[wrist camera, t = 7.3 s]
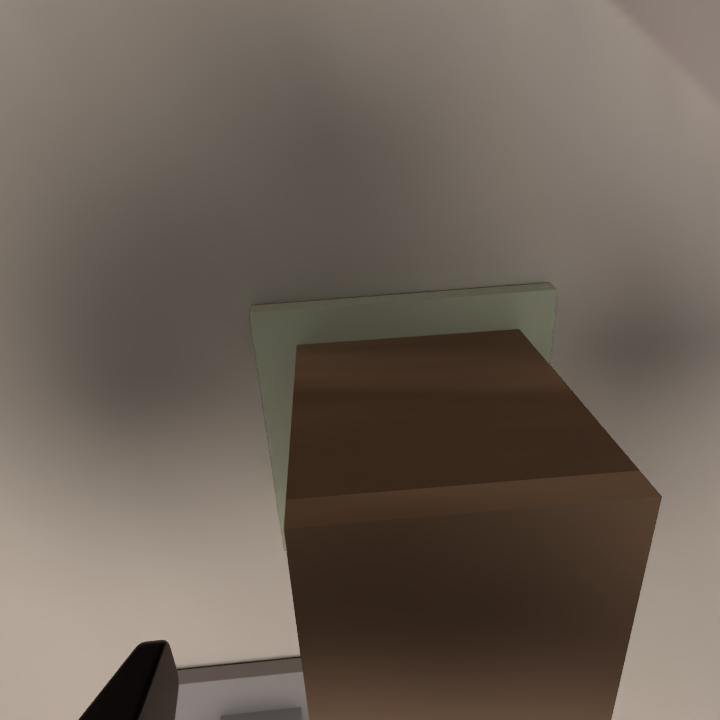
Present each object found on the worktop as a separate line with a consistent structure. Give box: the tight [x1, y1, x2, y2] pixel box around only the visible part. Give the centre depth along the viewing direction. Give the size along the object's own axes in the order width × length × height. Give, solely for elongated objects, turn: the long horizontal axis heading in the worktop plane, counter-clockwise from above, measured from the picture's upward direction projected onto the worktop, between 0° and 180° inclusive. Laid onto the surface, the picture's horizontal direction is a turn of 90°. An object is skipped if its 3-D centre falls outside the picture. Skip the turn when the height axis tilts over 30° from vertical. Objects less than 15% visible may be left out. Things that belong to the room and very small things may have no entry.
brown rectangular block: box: [284, 329, 662, 720], centre depth 12 cm, size 5×5×6 cm
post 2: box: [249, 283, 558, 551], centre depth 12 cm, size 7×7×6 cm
